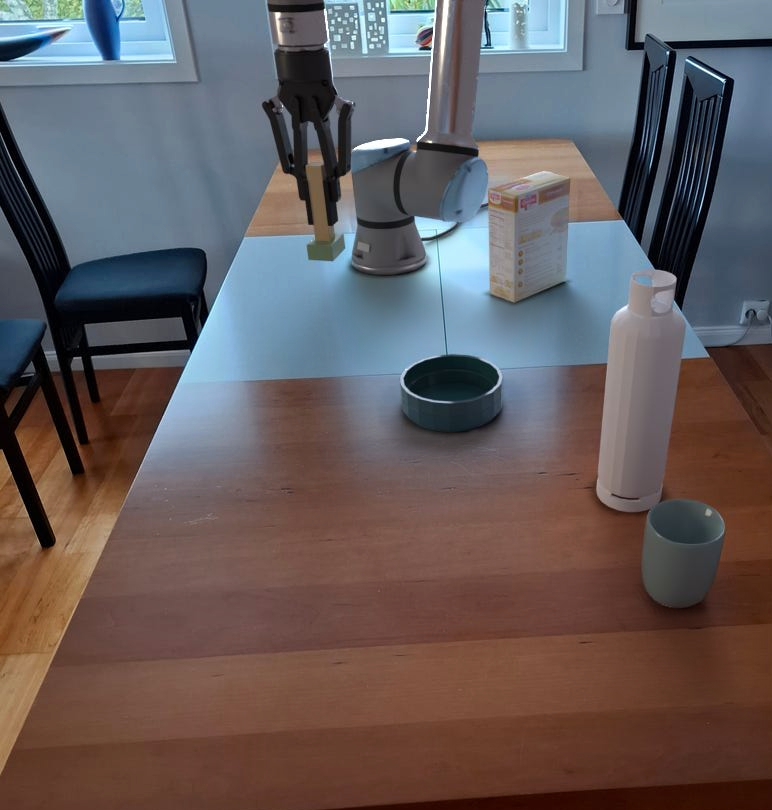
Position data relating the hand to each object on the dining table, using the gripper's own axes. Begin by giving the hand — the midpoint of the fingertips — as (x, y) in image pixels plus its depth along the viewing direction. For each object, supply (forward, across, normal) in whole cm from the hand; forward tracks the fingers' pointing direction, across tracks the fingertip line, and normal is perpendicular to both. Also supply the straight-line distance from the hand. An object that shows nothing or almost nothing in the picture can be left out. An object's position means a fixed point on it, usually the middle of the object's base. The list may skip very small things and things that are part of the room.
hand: (323, 222), depth 123 cm
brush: (+5, 0, 0) cm, 5 cm away
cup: (+22, +55, -52) cm, 78 cm away
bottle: (+21, +50, -34) cm, 64 cm away
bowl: (+21, +23, -16) cm, 35 cm away
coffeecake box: (+21, +28, +31) cm, 46 cm away
